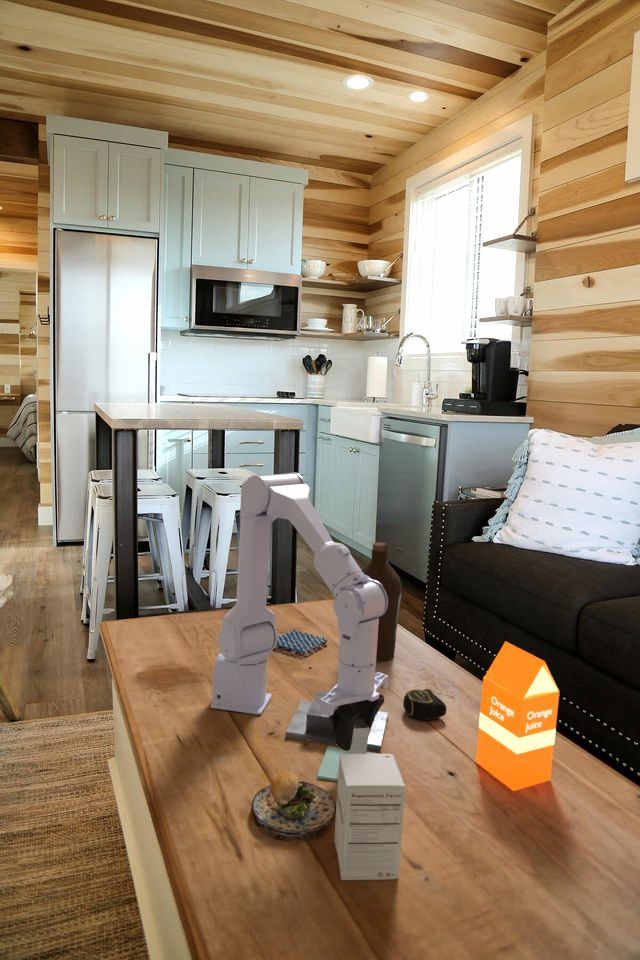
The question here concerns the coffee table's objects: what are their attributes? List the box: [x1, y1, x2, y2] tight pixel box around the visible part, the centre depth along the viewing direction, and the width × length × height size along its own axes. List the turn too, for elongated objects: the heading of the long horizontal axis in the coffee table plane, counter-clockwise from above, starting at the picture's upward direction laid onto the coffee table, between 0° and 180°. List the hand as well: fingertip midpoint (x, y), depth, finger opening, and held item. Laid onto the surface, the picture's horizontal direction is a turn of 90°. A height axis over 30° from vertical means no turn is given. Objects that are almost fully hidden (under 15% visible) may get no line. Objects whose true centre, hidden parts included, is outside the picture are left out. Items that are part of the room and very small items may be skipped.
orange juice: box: [475, 641, 560, 792], centre depth 110 cm, size 8×9×20 cm
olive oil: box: [360, 541, 403, 663], centre depth 155 cm, size 11×11×25 cm
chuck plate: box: [285, 689, 389, 752], centre depth 123 cm, size 16×12×4 cm
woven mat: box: [273, 629, 329, 659], centre depth 159 cm, size 10×11×2 cm
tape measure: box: [402, 688, 447, 721], centre depth 129 cm, size 7×7×4 cm
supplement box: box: [334, 753, 406, 881], centre depth 88 cm, size 7×7×13 cm
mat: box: [316, 745, 379, 782], centre depth 111 cm, size 9×9×1 cm
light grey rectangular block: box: [342, 719, 369, 754], centre depth 110 cm, size 3×3×7 cm
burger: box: [250, 768, 337, 843], centre depth 98 cm, size 12×12×8 cm
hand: (352, 743), depth 110 cm, fingers closed on light grey rectangular block, 4 cm apart
